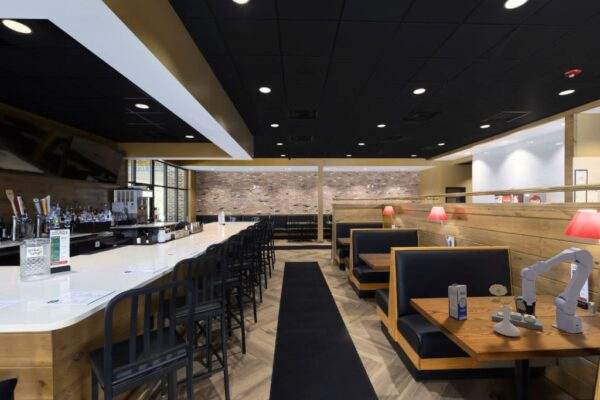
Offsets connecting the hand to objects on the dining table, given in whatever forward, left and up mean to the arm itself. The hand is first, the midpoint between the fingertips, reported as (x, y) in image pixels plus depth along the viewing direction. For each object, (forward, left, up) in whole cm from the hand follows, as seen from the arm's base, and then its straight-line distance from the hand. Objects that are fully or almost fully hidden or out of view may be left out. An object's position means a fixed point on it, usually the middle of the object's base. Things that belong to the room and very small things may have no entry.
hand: (529, 314), depth 153 cm
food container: (+15, -13, -6) cm, 20 cm away
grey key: (+5, +4, -3) cm, 7 cm away
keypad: (+5, +4, -5) cm, 8 cm away
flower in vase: (-5, +23, -6) cm, 24 cm away
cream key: (0, 0, -3) cm, 3 cm away
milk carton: (+17, +32, -6) cm, 36 cm away
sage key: (+9, +8, -5) cm, 13 cm away
